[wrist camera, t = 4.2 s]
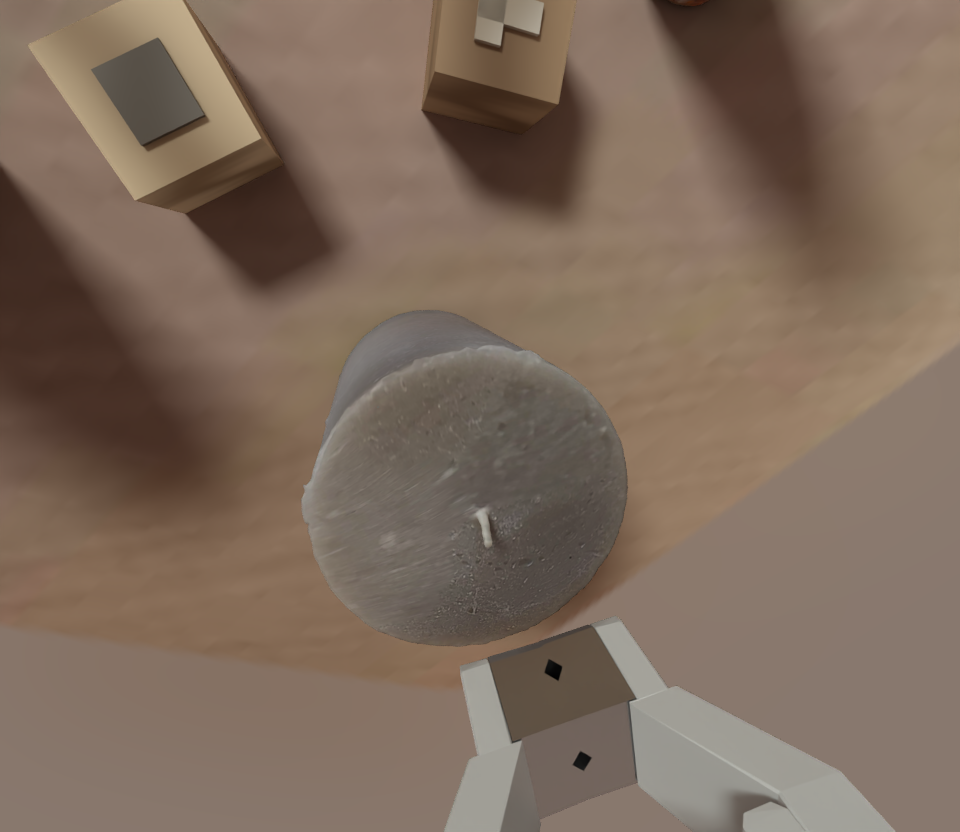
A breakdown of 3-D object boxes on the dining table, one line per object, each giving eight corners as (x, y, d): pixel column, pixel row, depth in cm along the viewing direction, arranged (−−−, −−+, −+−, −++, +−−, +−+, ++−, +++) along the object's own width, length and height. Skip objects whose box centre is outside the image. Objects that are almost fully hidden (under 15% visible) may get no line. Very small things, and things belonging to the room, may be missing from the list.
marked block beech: (216, 43, 20) (167, -26, 15) (284, 164, 22) (259, 136, 17) (107, 95, 20) (22, 42, 15) (185, 213, 22) (132, 199, 17)
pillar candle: (505, 471, 29) (632, 659, 15) (339, 480, 27) (307, 709, 13) (515, 309, 26) (682, 354, 12) (330, 304, 24) (279, 352, 10)
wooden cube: (540, 16, 22) (587, -52, 17) (521, 135, 24) (560, 103, 19) (434, -17, 21) (454, -100, 16) (421, 110, 22) (435, 69, 18)
